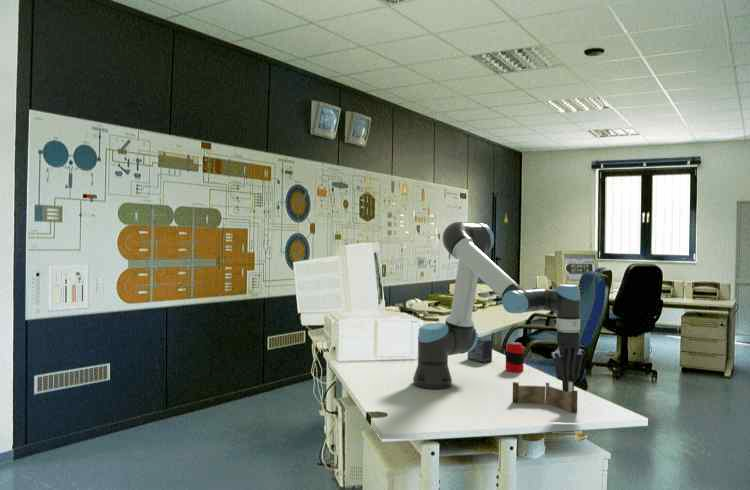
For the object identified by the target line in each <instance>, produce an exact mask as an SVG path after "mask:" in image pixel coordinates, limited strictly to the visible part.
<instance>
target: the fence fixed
mask: <svg viewBox="0 0 750 490" xmlns="http://www.w3.org/2000/svg"><path fill="white" fill-rule="evenodd" d="M545 397H546V385H529V384H528V385H520V382H518V381H512V403H513V404H546V403H545Z"/></svg>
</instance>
